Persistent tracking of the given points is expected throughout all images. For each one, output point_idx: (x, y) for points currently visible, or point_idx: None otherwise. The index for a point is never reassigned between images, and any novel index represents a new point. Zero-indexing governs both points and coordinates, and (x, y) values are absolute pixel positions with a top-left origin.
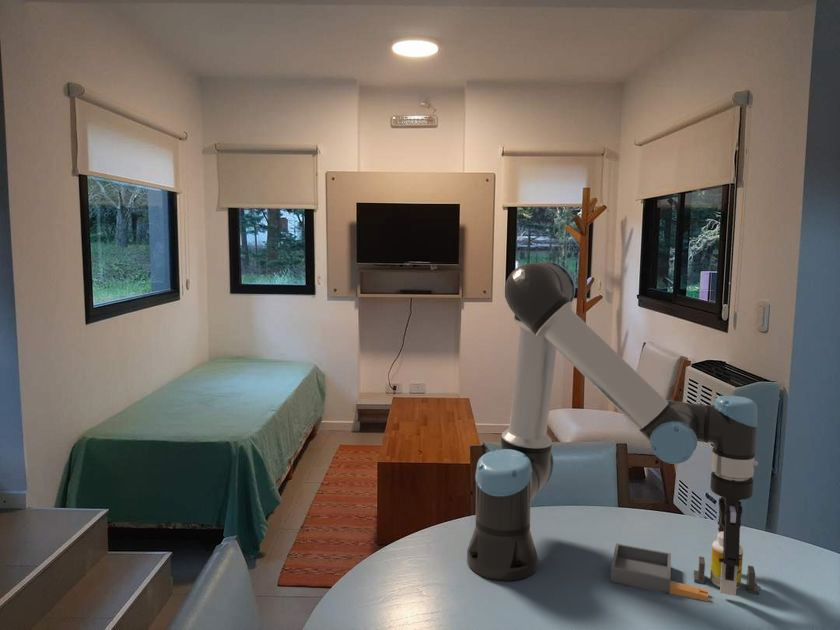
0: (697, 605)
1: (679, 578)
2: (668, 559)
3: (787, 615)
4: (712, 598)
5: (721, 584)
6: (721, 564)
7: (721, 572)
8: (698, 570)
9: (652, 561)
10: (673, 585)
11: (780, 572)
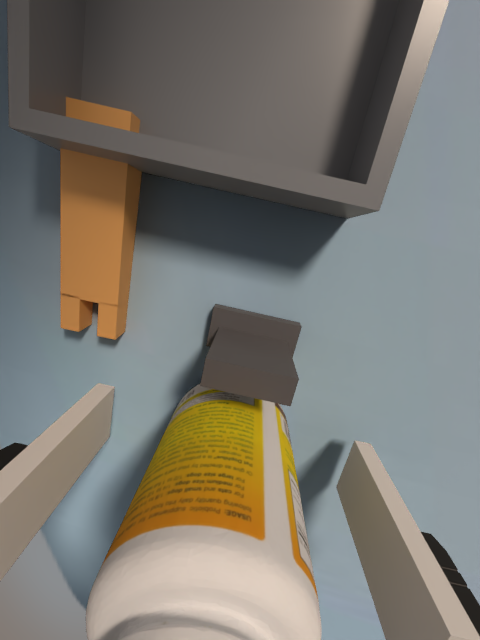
0: (25, 269)
1: (235, 241)
2: (285, 172)
3: (76, 534)
4: (101, 343)
5: (73, 407)
6: (144, 476)
7: (25, 449)
8: (272, 343)
9: (369, 104)
10: (84, 174)
11: (344, 607)
